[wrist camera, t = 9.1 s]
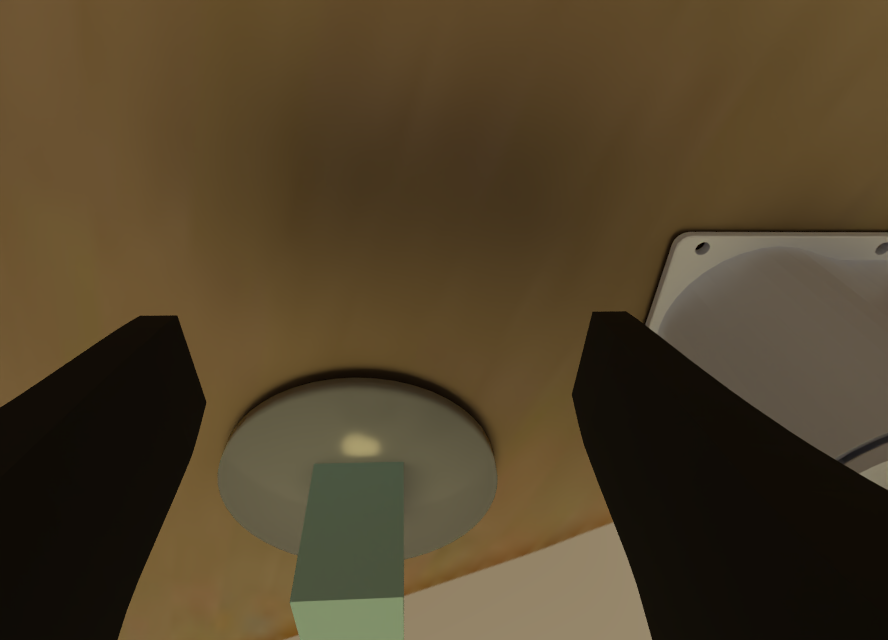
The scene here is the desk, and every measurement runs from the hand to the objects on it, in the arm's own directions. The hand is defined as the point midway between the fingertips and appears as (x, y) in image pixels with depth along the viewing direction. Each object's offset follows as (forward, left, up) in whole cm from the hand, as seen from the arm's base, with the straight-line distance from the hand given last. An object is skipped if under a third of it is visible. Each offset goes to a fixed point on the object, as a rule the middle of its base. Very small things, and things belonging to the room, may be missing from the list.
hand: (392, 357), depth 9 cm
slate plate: (+2, +15, -9) cm, 18 cm away
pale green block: (+2, +15, -8) cm, 17 cm away
